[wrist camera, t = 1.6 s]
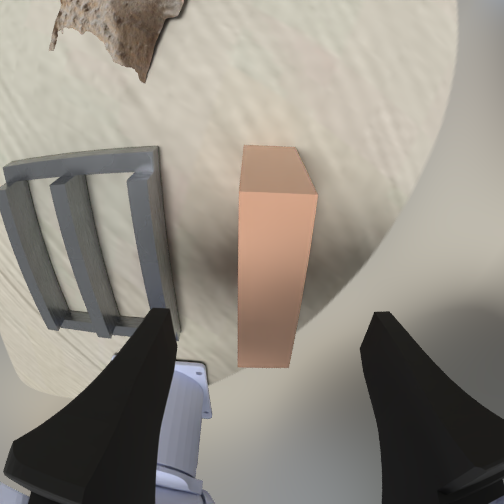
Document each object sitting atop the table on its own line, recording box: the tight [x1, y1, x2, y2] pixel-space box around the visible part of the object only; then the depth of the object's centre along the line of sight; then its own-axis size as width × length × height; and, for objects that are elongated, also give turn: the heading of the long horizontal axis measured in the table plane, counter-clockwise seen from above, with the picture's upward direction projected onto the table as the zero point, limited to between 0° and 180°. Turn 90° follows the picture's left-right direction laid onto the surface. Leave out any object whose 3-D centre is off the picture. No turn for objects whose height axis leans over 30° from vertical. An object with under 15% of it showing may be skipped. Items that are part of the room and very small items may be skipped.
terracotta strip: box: [238, 145, 318, 368], centre depth 15 cm, size 9×2×6 cm, turn 178°
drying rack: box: [0, 146, 181, 341], centre depth 17 cm, size 13×10×2 cm
